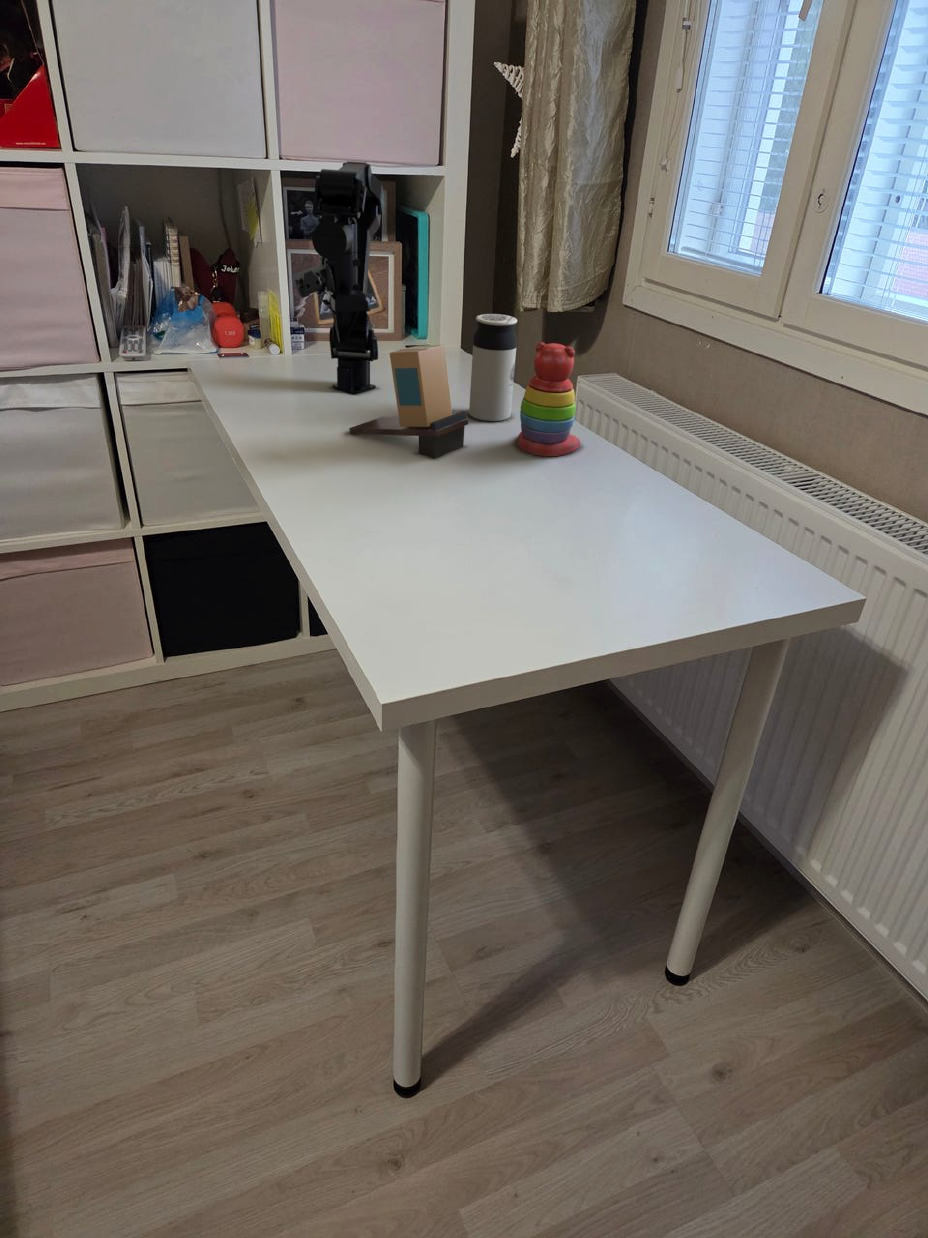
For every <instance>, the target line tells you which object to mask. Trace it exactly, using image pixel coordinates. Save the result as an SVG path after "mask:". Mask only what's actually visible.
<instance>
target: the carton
mask: <svg viewBox="0 0 928 1238" xmlns="http://www.w3.org/2000/svg"><path fill="white" fill-rule="evenodd" d="M445 351H446V350H445V345H444V344H433V345H432V344H430V345H429V344H428V345H415V346H410V347H404V348H401V349H398V350H395V351H391V352H389V359H390V366H391V367H390V368H391V373H392V380H393V387H394V393H395V401H396V408H397V415H398V417H399V422H400V426H407V427H429V426H430V423H432V422H435V421H437V420H440V419H443V418H445V417H448V416H451V415H453V410H452V409H453V408H452V401H451V392H450V384H449V376H448V368H447V360H446V352H445Z"/></svg>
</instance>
